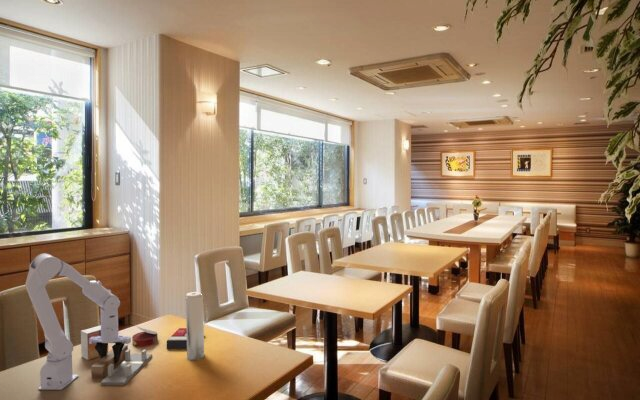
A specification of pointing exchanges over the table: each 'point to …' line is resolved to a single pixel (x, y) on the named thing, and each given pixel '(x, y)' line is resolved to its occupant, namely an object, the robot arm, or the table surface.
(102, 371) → the banded tan post
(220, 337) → the table surface
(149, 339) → the canned food
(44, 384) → the robot arm
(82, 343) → the small box
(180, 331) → the black and red box
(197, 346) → the paper towel roll
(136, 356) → the base plate
